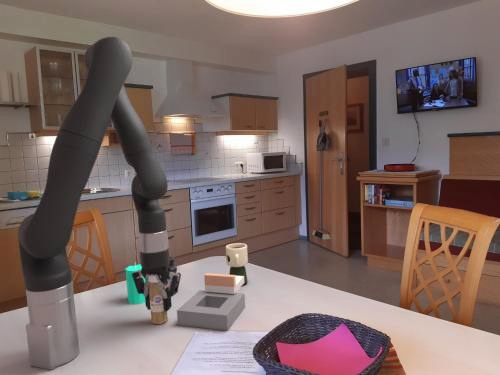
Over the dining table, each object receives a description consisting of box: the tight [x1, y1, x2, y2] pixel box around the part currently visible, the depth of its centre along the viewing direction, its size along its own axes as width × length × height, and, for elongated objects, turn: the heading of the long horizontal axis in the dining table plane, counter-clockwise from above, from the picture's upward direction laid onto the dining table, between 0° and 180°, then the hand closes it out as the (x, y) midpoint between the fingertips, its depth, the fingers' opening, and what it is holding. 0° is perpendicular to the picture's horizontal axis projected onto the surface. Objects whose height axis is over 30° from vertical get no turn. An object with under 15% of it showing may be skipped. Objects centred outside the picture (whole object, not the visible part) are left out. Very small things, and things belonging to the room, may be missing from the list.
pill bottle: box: [168, 256, 178, 287], centre depth 122 cm, size 6×6×11 cm
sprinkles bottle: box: [148, 274, 169, 325], centre depth 101 cm, size 5×5×14 cm
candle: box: [125, 262, 145, 305], centre depth 116 cm, size 6×6×12 cm
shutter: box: [203, 272, 245, 294], centre depth 113 cm, size 9×9×5 cm
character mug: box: [225, 242, 249, 284], centre depth 126 cm, size 11×7×13 cm, turn 2°
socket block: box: [176, 289, 246, 331], centre depth 104 cm, size 14×14×4 cm
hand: (158, 309), depth 102 cm, fingers closed on sprinkles bottle, 4 cm apart
